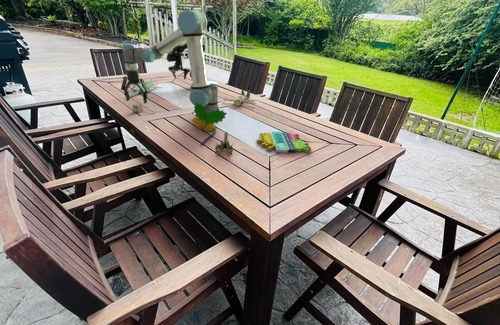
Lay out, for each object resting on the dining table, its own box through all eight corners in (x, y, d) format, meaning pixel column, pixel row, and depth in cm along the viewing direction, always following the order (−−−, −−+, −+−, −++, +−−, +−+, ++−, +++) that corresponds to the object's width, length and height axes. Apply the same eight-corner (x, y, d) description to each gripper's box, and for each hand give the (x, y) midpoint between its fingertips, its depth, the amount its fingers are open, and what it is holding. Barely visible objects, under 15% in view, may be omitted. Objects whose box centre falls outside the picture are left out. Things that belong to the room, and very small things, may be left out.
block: (137, 110, 186) (136, 103, 184) (142, 110, 186) (141, 104, 183) (133, 112, 182) (132, 105, 180) (138, 112, 182) (137, 106, 179)
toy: (261, 91, 228) (254, 99, 202) (261, 99, 231) (253, 108, 205) (231, 87, 233) (220, 95, 207) (230, 95, 236) (219, 104, 210)
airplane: (123, 87, 237) (120, 75, 231) (158, 84, 250) (157, 74, 245) (127, 99, 208) (125, 87, 203) (167, 96, 221) (166, 84, 216)
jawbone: (234, 135, 144) (233, 125, 135) (233, 160, 138) (232, 151, 129) (217, 135, 144) (216, 125, 135) (216, 160, 138) (214, 150, 129)
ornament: (218, 133, 171) (224, 110, 169) (221, 134, 163) (227, 111, 161) (186, 125, 162) (192, 101, 160) (189, 126, 155) (195, 101, 153)
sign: (313, 150, 142) (258, 149, 139) (312, 153, 143) (258, 152, 140) (301, 132, 164) (254, 130, 161) (301, 134, 165) (254, 133, 162)
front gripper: (111, 68, 169) (117, 100, 180) (145, 72, 165) (150, 105, 175) (119, 66, 176) (124, 98, 186) (152, 71, 171) (156, 102, 182)
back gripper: (164, 61, 225) (166, 79, 233) (184, 63, 222) (185, 82, 229) (170, 59, 235) (172, 77, 242) (190, 61, 231) (190, 79, 239)
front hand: (136, 101), depth 181 cm, fingers open, 13 cm apart
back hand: (179, 79), depth 238 cm, fingers open, 9 cm apart
